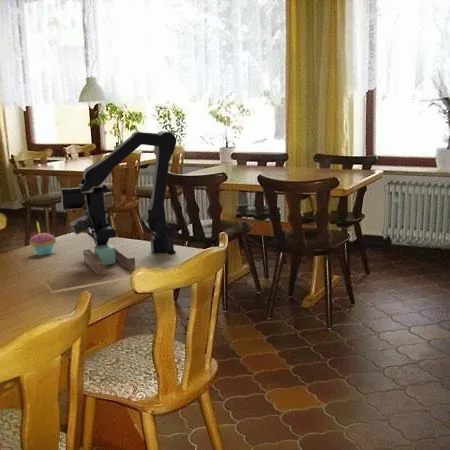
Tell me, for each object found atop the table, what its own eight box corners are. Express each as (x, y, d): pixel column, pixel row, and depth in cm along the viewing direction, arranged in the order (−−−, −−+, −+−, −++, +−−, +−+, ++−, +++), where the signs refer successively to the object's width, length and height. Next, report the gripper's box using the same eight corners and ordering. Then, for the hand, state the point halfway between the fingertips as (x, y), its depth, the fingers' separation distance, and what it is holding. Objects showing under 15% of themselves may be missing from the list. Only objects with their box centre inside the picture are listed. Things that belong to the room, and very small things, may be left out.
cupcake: (49, 257, 215) (45, 222, 212) (26, 257, 217) (21, 222, 214) (61, 250, 223) (57, 216, 221) (38, 250, 225) (34, 216, 222)
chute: (118, 258, 210) (116, 244, 209) (135, 271, 194) (134, 257, 193) (84, 263, 205) (82, 250, 204) (99, 278, 189) (98, 263, 188)
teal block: (111, 259, 206) (109, 244, 205) (115, 263, 202) (114, 247, 201) (95, 262, 204) (94, 246, 203) (100, 265, 200) (98, 250, 198)
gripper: (63, 205, 208) (69, 252, 212) (77, 215, 192) (83, 266, 195) (97, 201, 213) (102, 247, 216) (114, 210, 196) (119, 260, 200)
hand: (101, 255), depth 207 cm, fingers closed
